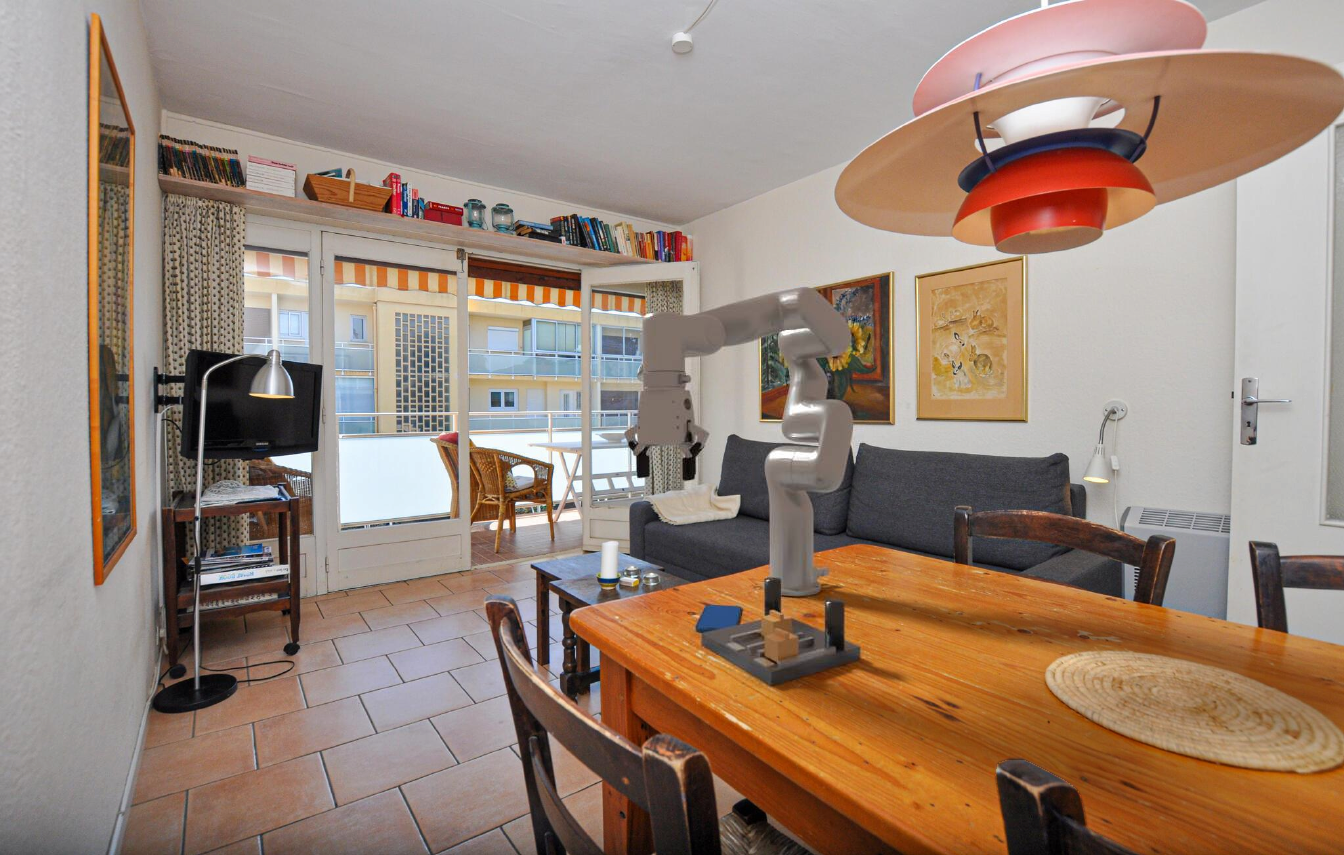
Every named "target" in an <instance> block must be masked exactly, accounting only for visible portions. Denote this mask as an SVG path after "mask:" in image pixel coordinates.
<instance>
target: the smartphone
mask: <svg viewBox="0 0 1344 855" xmlns="http://www.w3.org/2000/svg"><path fill="white" fill-rule="evenodd" d="M742 610H743V608H742V606H738V605H725V604H724V605H723V604H706V605H705V606H704V607H703V610H702V612H701V615H700V616H699V619H698V620H697V622H696V625H695V629H694V630H695V632H697V633H705V632H709V631H713V630H718V629H722V628H727V627H731V626H736V625H739V622H740V618H741V614H742Z"/></svg>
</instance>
